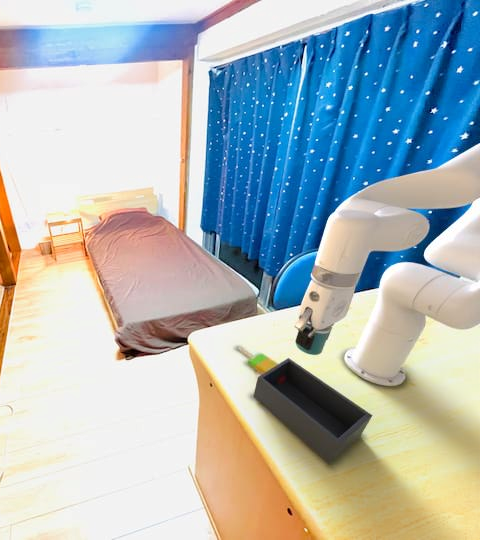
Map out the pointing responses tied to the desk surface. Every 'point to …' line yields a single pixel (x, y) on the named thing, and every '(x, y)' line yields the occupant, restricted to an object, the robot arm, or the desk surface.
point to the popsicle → (261, 363)
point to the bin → (311, 409)
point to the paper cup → (317, 340)
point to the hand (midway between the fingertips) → (311, 341)
